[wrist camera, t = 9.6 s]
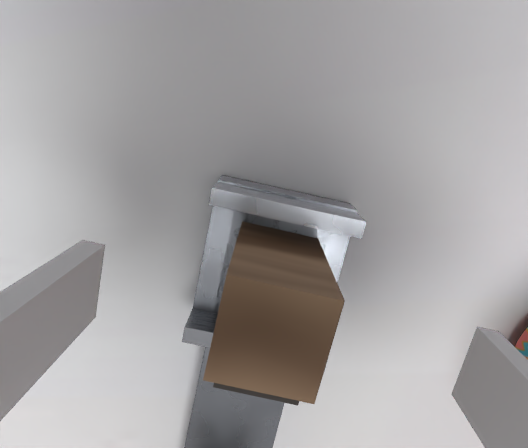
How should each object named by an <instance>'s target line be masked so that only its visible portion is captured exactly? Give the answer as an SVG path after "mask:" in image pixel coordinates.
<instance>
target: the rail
mask: <svg viewBox="0 0 528 448" xmlns="http://www.w3.org/2000/svg"><path fill="white" fill-rule="evenodd" d="M209 205H212V206H213V209H212V214H211V219H210V224H209V229H208V234H207V239H206V244H205V249H204V254H203V259H202V264H201V269H200V274H199V279H198V284H197V289H196V295H195V300H194V305H193V309H192V311H191V314H190V316H189V318H188V321H187V323H186V325H185V328H184V333H183V339H182V342H186V343H190V344H195V345H200V346H205V352H204V357H203V362H202V367H201V371H200V376H199V381H198V386H197V390H196V395H195V400H194V405H193V409H192V414H191V419H190V424H189V428H188V433H187V438H186V443H185V447H184V448H272V447H273V443H274V440H275V436H276V432H277V428H278V425H279V421H280V417H281V413H282V410H283V406H284V402H280V401H275V400H270V399H266V398H261V397H256V396H252V395H247V394H242V393H238V392H233V391H228V390H224V389H219V388H214V387H213V385H214V383H213V382H209V381H204V380H203V378H204V373H205V369H206V364H207V360H208V355H209V351H210V346H211V342H212V337H213V333H214V328H215V324H216V320H217V315H218V311H219V306H220V302H221V297H222V293H223V288H224V284H225V279H226V275H227V271H228V268H229V265H230V261H231V258H232V254H233V251H234V248H235V244H236V241H237V238H238V234H239V231H240V227H241V224H242V221H243V222H248V223H252V224H257V225H261V226H265V227H270V228H274V229H278V230H283V231H287V232H291V233H296V234H300V235H305V236H309V237H313V238H318V239H319V242H320V244H321V246H322V249H323V251H324V254H325V256H326V258H327V261H328V263H329V265H330V268H331V270H332V272H333V275H334V277H335V279H336V282H337V283H338V279H339V276H340V272H341V269H342V265H343V261H344V258H345V254H346V251H347V247H348V243H349V240H350V236H352V237H357V238H361V239H362V237H363V233H364V230H365V226H366V223H367V222H366V221H365V220H364V219H363V218H362V217H361V216H360V215H359V214H358V213H357V210H356V209H355V208H354V207H353V206H352V205H351V204H350V203H345V202H341V201H336V200H332V199H327V198H323V197H318V196H314V195H309V194H305V193H300V192H296V191H291V190H287V189H282V188H278V187H273V186H269V185H264V184H260V183H256V182H251V181H247V180H242V179H238V178H233V177H229V176H224V175H222V176H221V177H220V178H219V179H218V182H217V183H216V184H215V185H214V186H213V187H212V190H211V195H210V200H209ZM327 360H328V359H327ZM326 363H327V362H326ZM325 367H326V366H325ZM324 370H325V369H324Z"/></svg>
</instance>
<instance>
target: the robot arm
mask: <svg viewBox="0 0 528 448" xmlns="http://www.w3.org/2000/svg"><path fill="white" fill-rule="evenodd" d="M104 249H105V245H103V244H99V243H94V242H90V241H85V240H82V241H80V242H79V243H77V244H76V245H74V246H72V247H71V248H69V249H68V250H66V251H65V252H63V253H61V254H60V255H58V256H57V257H55V258H53V259H52V260H50V261H49V262H47V263H45V264H44V265H42V266H41V267H39V268H38V269H36V270H34V271H33V272H31V273H30V274H28V275H26V276H25V277H23V278H22V279H20V280H18V281H17V282H15V283H14V284H12V285H10V286H9V287H7V288H6V289H4V290H3V291H1V292H0V421H1V420H2V419H3V418H4V417H5V415H6V414H7V413H8V412H9V411H10V410H11V409H12V408H13V407H14V406H15V405H16V403H17V402H18V401H19V400H20V399H21V398H22V397H23V396H24V395H25V394H26V392H27V391H28V390H29V389H30V388H31V387H32V386H33V385H34V384H35V383H36V382H37V380H38V379H39V378H40V377H41V376H42V375H43V374H44V373H45V372H46V371H47V370H48V368H49V367H50V366H51V365H52V364H53V363H54V362H55V361H56V360H57V359H58V357H59V356H60V355H61V354H62V353H63V352H64V351H65V350H66V349H67V348H68V347H69V345H70V344H71V343H72V342H73V341H74V340H75V339H76V338H77V337H78V336H79V335H80V333H81V332H82V331H83V330H84V329H85V328H86V327H87V326H88V325H89V324H90V322H91V321H92V320H93V319H94V318H95V317H96V309H97V302H98V294H99V287H100V279H101V271H102V264H103V256H104ZM452 396H453V397H454V399H455V400H456V402H457V404H458V405H459V407H460V408H461V410H462V412H463V413H464V415H465V416H466V418H467V420H468V421H469V423H470V424H471V426H472V428H473V429H474V431H475V432H476V434H477V436H478V437H479V439H480V440H481V442H482V444H483V445H484V447H485V448H528V360H527V359H526V358H525V357H524V356H523V355H522V354H521V353H520V352H519V351H518V350H517V349H516V348H515V347H514V346H513V345H512V344H511V343H510V342H509V341H508V340H507V339H506V338H505V337H504V336H503V335H502V334H501V333H500V332H499V331H495V330H490V329H485V328H481V327H477V329H476V332H475V334H474V337H473V339H472V342H471V345H470V347H469V350H468V352H467V355H466V358H465V360H464V363H463V365H462V368H461V371H460V373H459V376H458V378H457V381H456V384H455V386H454V389H453V392H452Z"/></svg>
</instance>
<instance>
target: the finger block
mask: <svg viewBox="0 0 528 448" xmlns="http://www.w3.org/2000/svg"><path fill="white" fill-rule="evenodd" d="M343 305H344V298H343V296H342V294H341V291H340V289H339V286H338V284H337V282H336V279H335V277H334V275H333V272H332V270H331V268H330V265H329V263H328V261H327V258H326V256H325V254H324V251H323V249H322V246H321V244H320V242H319V239H318V238H313V237H309V236H305V235H300V234H296V233H291V232H287V231H283V230H278V229H274V228H270V227H265V226H261V225H257V224H252V223H248V222H243V221H242V224H241V227H240V231H239V234H238V238H237V241H236V244H235V248H234V251H233V254H232V258H231V261H230V265H229V268H228V271H227V275H226V279H225V284H224V288H223V293H222V297H221V302H220V306H219V311H218V315H217V320H216V324H215V328H214V333H213V337H212V342H211V346H210V351H209V355H208V360H207V364H206V369H205V373H204V378H203V380H204V381H209V382H213V383H214V385H213V387H214V388H219V389H224V390H228V391H233V392H238V393H242V394H247V395H252V396H256V397H261V398H266V399H270V400H275V401H280V402H284V403H289V404H294V405H298V403H299V401H302V402H307V403H311V404H314V403H315V400H316V396H317V393H318V390H319V386H320V383H321V379H322V376H323V373H324V369H325V366H326V362H327V359H328V356H329V352H330V349H331V345H332V342H333V339H334V335H335V332H336V329H337V325H338V322H339V318H340V315H341V312H342V308H343Z"/></svg>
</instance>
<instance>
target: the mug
mask: <svg viewBox="0 0 528 448" xmlns="http://www.w3.org/2000/svg"><path fill="white" fill-rule="evenodd" d="M515 348H516V349H517V350H518V351H519V352H520V353H521V354H522V355H523V356H524V357H525V358H526V359H527V360H528V327H527V328H526V329H525V331H524V332H523V333H522V335H521V336H520V338H519V339H518V341H517V343H516V345H515Z"/></svg>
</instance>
